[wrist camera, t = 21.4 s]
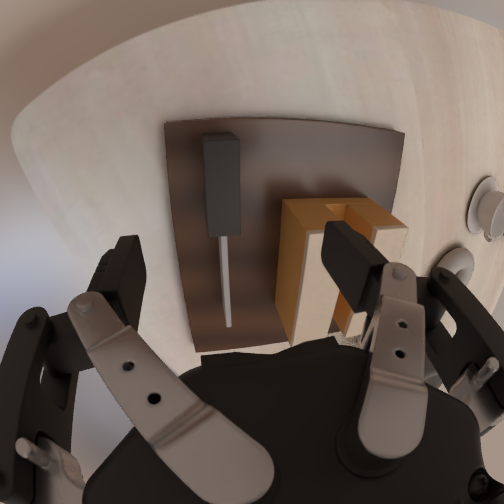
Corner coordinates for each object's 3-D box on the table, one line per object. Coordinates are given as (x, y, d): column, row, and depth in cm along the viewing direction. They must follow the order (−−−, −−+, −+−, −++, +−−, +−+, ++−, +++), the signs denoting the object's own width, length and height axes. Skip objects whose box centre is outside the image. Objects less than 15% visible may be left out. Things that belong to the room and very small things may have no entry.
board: (166, 121, 20) (164, 123, 18) (396, 130, 23) (405, 133, 22) (195, 343, 33) (195, 352, 32) (352, 320, 37) (357, 327, 36)
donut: (436, 246, 33) (417, 300, 38) (451, 258, 30) (429, 313, 35) (471, 240, 35) (453, 288, 40) (484, 250, 32) (464, 299, 37)
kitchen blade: (201, 133, 19) (202, 140, 16) (232, 132, 20) (240, 139, 17) (213, 304, 28) (217, 332, 25) (236, 302, 29) (242, 329, 25)
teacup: (470, 179, 28) (494, 192, 24) (500, 173, 29) (520, 184, 25) (460, 239, 33) (479, 255, 30) (491, 225, 34) (508, 239, 30)
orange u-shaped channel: (282, 198, 24) (309, 234, 18) (368, 197, 25) (409, 227, 20) (274, 303, 30) (291, 349, 24) (347, 292, 31) (372, 331, 26)
